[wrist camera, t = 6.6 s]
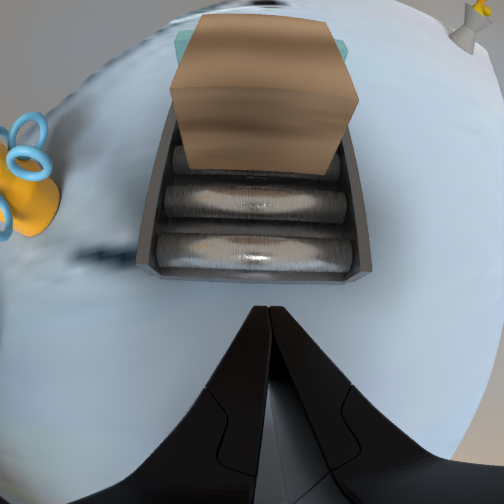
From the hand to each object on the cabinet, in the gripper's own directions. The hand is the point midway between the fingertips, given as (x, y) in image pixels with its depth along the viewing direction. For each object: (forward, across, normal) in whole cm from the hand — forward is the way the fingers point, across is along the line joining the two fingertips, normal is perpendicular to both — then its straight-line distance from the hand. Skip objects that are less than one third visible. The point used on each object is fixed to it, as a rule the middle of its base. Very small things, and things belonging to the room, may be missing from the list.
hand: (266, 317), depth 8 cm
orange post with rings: (+14, +21, +1) cm, 25 cm away
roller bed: (+16, 0, -1) cm, 16 cm away
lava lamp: (+57, -58, -42) cm, 91 cm away
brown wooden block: (+16, 0, -6) cm, 16 cm away
